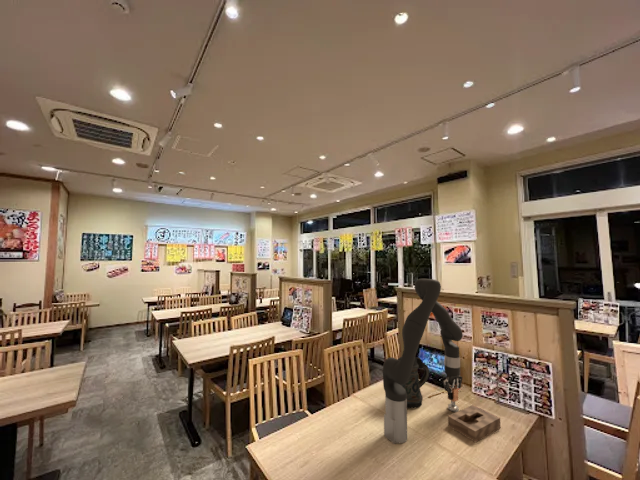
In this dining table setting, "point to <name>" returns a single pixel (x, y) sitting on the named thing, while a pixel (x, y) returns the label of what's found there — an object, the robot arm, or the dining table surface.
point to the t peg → (452, 406)
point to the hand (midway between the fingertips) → (453, 397)
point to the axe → (435, 395)
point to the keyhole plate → (474, 422)
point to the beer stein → (415, 384)
